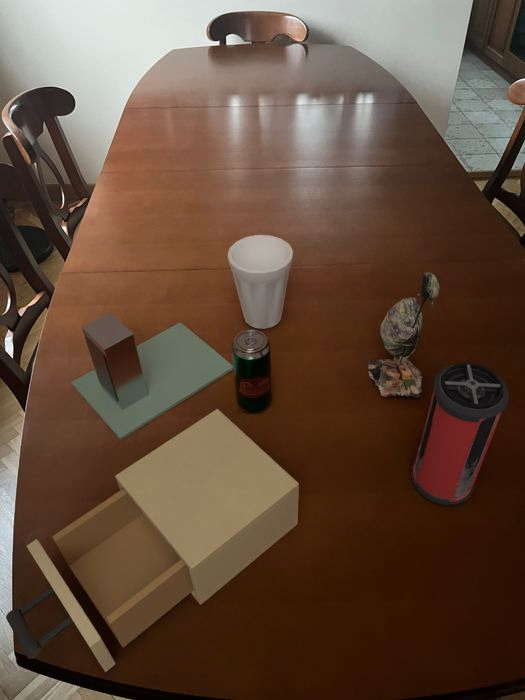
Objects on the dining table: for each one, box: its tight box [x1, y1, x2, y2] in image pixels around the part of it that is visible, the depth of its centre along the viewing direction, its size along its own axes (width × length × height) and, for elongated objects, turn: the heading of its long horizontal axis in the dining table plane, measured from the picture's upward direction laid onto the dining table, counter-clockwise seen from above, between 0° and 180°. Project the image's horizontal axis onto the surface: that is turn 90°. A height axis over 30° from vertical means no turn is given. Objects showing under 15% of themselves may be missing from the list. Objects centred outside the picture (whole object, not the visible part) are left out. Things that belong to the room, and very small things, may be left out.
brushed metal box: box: [81, 312, 148, 410], centre depth 82 cm, size 5×6×12 cm
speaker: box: [410, 362, 510, 506], centre depth 68 cm, size 8×8×18 cm
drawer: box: [5, 488, 194, 673], centre depth 62 cm, size 18×13×7 cm
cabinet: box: [114, 408, 300, 606], centre depth 68 cm, size 15×15×9 cm
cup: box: [227, 234, 294, 330], centre depth 93 cm, size 10×10×13 cm
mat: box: [70, 321, 234, 441], centre depth 89 cm, size 20×14×1 cm
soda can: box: [231, 329, 273, 414], centre depth 81 cm, size 5×5×12 cm
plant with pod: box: [367, 271, 440, 399], centre depth 81 cm, size 8×11×20 cm
